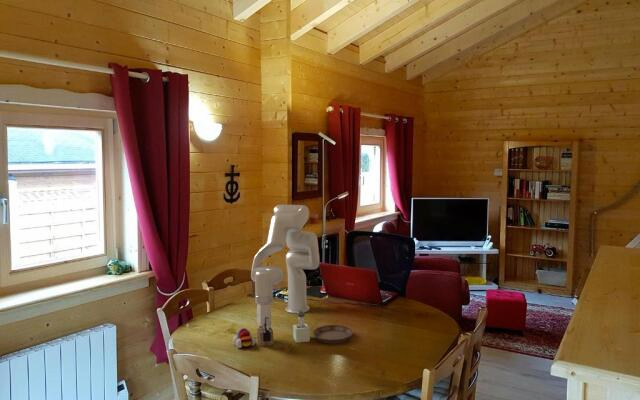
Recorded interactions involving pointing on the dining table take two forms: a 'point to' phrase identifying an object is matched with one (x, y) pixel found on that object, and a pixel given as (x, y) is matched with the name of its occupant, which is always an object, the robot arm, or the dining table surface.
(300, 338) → the wide bore block
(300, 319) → the cylinder
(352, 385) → the dining table surface
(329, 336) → the plant saucer
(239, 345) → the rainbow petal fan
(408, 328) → the dining table surface
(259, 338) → the narrow block
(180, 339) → the dining table surface
